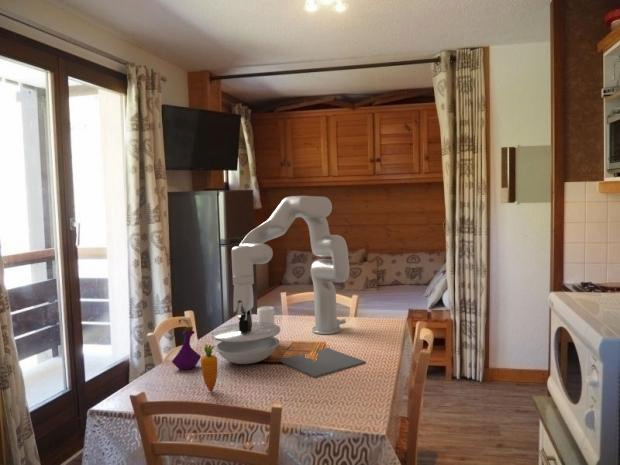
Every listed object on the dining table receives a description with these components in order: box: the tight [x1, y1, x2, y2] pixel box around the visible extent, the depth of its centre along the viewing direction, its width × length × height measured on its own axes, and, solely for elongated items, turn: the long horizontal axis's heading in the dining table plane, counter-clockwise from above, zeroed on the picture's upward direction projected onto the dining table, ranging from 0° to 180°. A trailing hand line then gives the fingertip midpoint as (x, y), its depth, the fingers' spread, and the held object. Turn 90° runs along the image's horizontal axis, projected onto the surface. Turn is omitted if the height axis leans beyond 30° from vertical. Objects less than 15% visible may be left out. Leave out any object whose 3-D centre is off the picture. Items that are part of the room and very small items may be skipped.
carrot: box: [200, 343, 218, 393], centre depth 158 cm, size 5×5×15 cm
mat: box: [278, 347, 366, 379], centre depth 182 cm, size 22×22×1 cm
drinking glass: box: [256, 306, 275, 337], centre depth 206 cm, size 7×7×15 cm
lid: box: [210, 314, 281, 342], centre depth 186 cm, size 25×25×6 cm
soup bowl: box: [213, 336, 280, 365], centre depth 187 cm, size 24×24×7 cm
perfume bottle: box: [171, 317, 202, 371], centre depth 182 cm, size 8×8×18 cm
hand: (245, 329), depth 186 cm, fingers closed on lid, 4 cm apart
